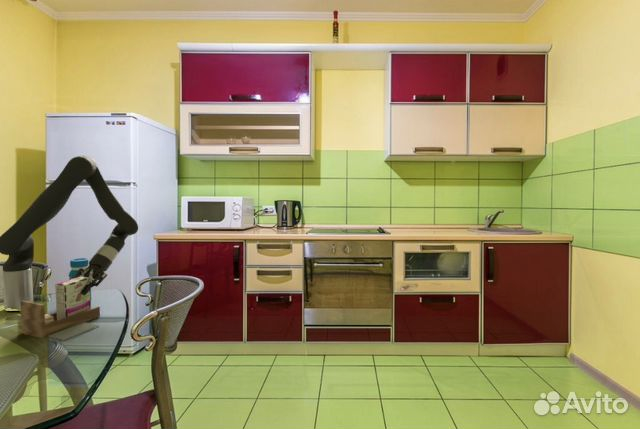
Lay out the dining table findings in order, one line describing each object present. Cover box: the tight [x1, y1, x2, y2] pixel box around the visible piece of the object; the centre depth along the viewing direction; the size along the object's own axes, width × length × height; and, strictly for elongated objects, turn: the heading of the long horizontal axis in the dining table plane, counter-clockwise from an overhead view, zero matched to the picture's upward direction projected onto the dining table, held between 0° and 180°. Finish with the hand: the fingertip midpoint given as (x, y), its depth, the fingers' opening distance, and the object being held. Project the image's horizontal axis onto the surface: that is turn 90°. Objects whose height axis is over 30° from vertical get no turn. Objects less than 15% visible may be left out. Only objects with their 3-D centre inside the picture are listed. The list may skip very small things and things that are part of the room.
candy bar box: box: [55, 276, 92, 321], centre depth 135 cm, size 11×5×16 cm, turn 168°
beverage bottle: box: [68, 257, 92, 300], centre depth 155 cm, size 8×8×20 cm
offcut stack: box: [45, 313, 55, 325], centre depth 125 cm, size 6×5×5 cm
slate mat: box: [47, 322, 100, 342], centre depth 126 cm, size 8×13×1 cm, turn 161°
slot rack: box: [20, 300, 101, 340], centre depth 132 cm, size 11×22×12 cm, turn 161°
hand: (77, 293), depth 137 cm, fingers closed on candy bar box, 5 cm apart
